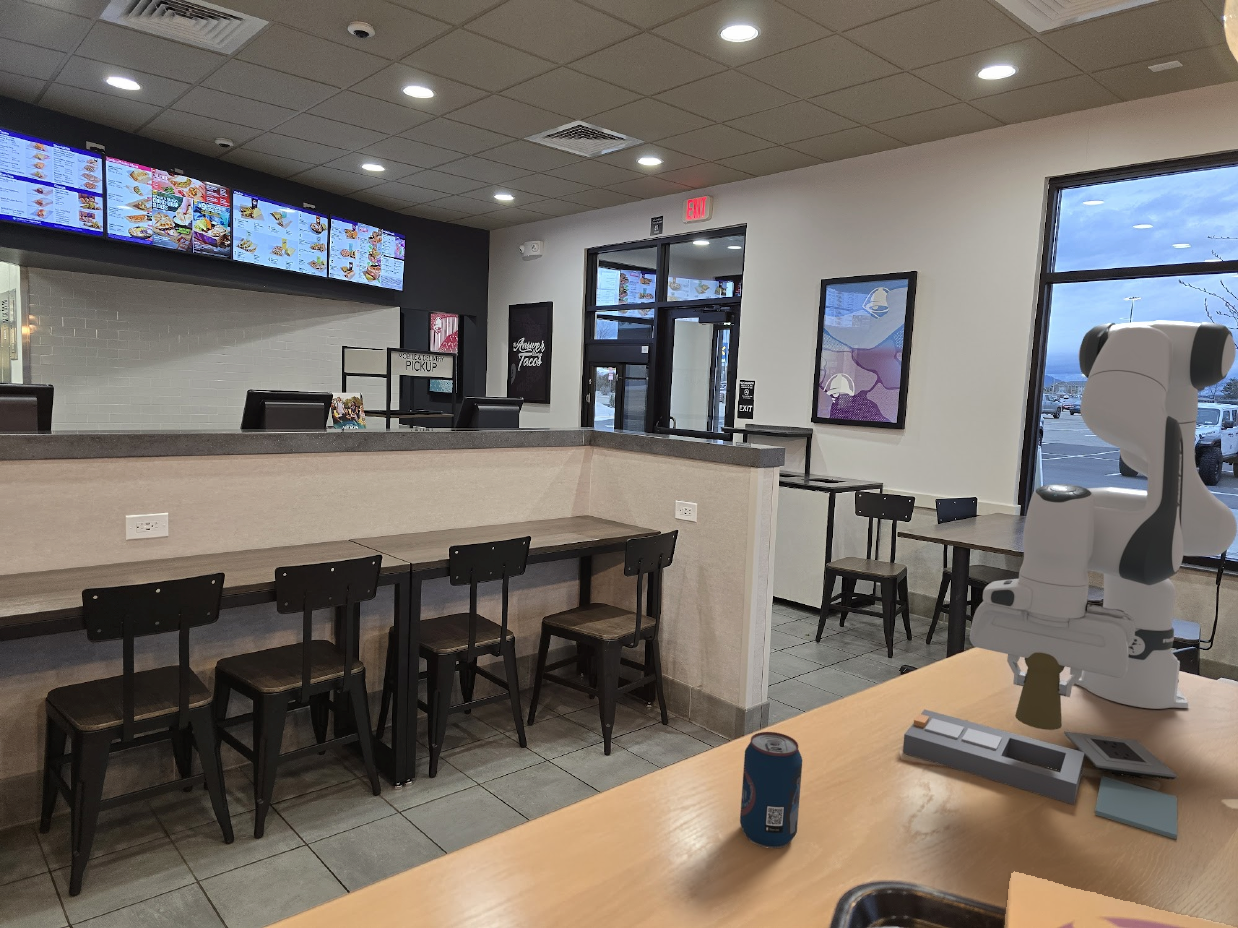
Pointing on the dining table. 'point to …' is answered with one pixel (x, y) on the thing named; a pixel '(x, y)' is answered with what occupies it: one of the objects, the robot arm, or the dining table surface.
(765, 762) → the soda can
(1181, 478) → the robot arm
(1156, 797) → the rubber mat
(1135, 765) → the grey picture frame
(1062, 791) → the grey slotted tray
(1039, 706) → the cork
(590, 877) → the dining table surface
